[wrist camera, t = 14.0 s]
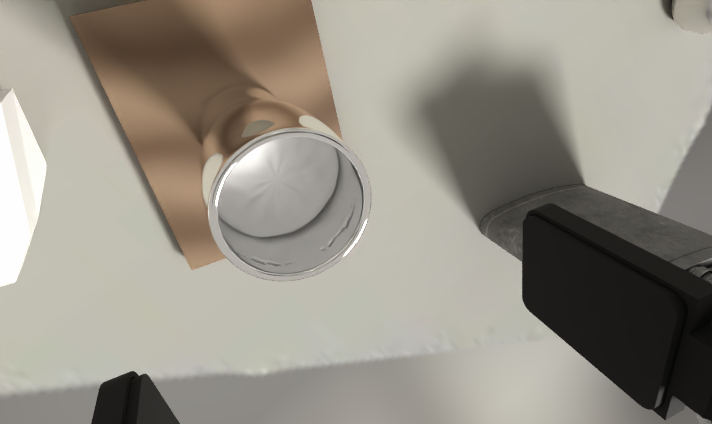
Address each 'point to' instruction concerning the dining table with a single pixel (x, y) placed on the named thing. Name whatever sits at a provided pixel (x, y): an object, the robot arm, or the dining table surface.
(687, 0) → the plastic bottle
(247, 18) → the serving board
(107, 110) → the dining table surface
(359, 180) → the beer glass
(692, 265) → the flask
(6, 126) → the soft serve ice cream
